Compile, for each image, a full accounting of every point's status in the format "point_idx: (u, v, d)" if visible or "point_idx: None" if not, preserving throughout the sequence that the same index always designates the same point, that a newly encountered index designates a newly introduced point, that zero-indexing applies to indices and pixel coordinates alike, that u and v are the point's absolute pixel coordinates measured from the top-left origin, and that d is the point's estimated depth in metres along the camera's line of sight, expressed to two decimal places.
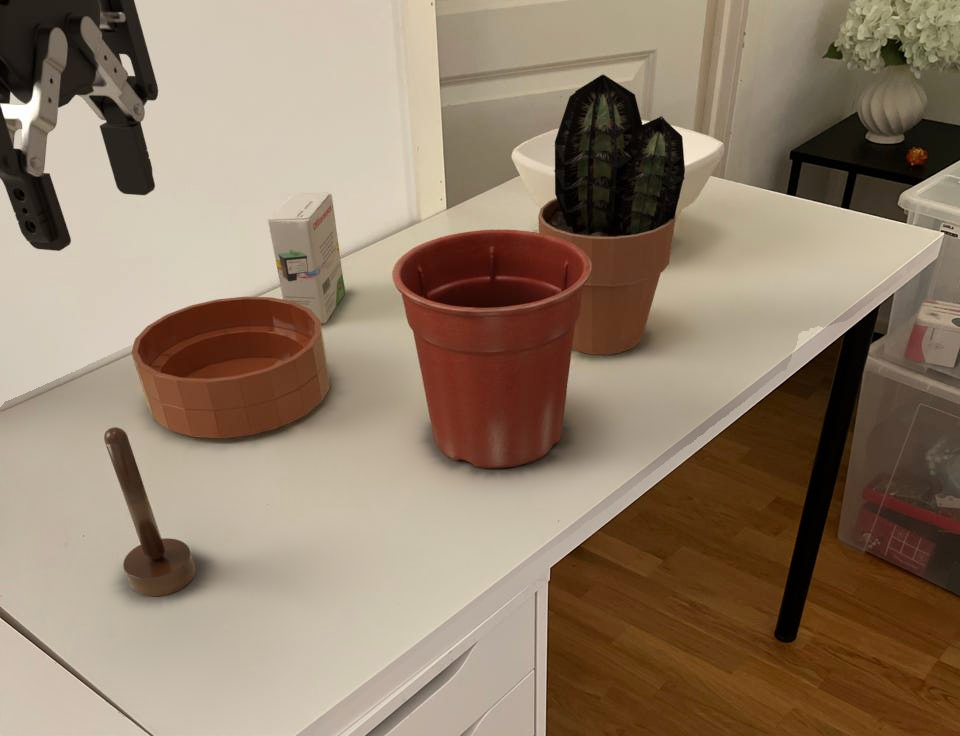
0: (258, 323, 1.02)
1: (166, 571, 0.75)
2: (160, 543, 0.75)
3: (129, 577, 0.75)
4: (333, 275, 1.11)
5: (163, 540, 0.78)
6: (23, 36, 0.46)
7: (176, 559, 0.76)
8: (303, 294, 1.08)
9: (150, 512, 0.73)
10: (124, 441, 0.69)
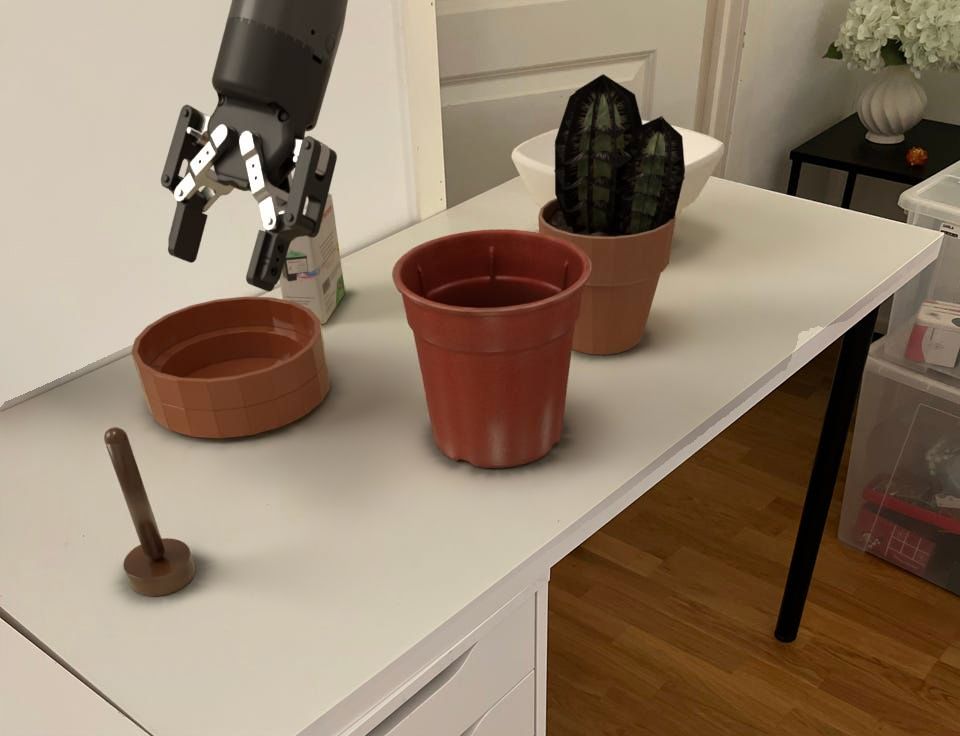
0: (258, 323, 1.02)
1: (166, 571, 0.75)
2: (160, 543, 0.75)
3: (129, 577, 0.75)
4: (333, 275, 1.11)
5: (163, 540, 0.78)
6: None
7: (176, 559, 0.76)
8: (303, 294, 1.08)
9: (150, 512, 0.73)
10: (124, 441, 0.69)
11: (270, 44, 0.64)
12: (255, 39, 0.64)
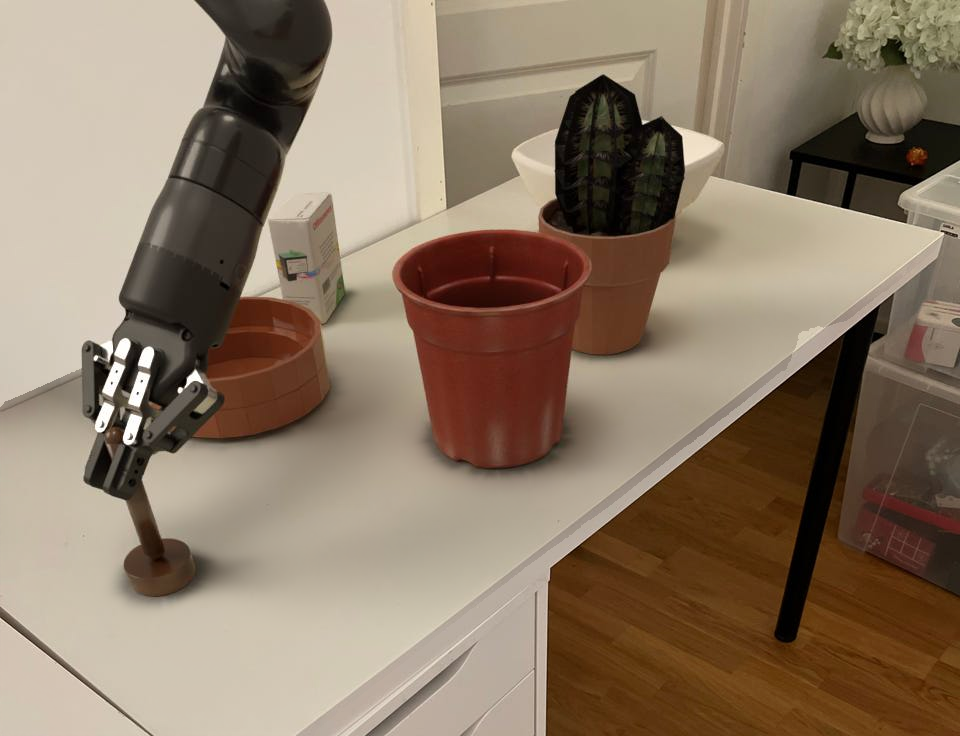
0: (258, 323, 1.02)
1: (166, 571, 0.75)
2: (160, 543, 0.75)
3: (129, 577, 0.75)
4: (333, 275, 1.11)
5: (163, 540, 0.78)
6: None
7: (176, 559, 0.76)
8: (303, 294, 1.08)
9: (150, 512, 0.73)
10: None
11: (177, 270, 0.65)
12: (163, 265, 0.65)
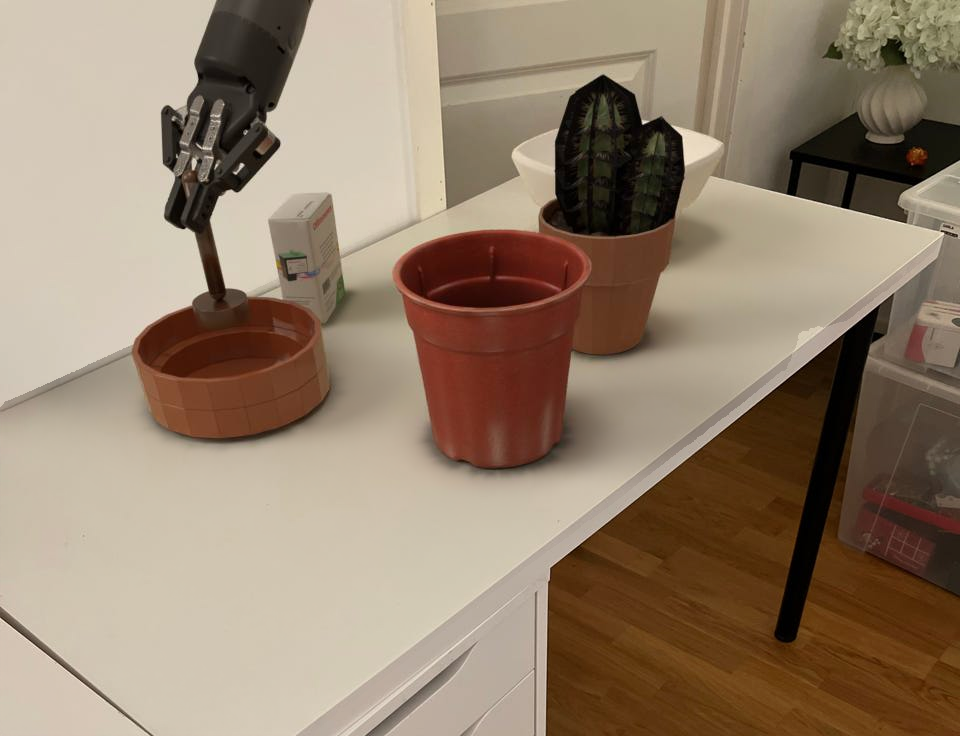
0: (258, 323, 1.02)
1: (228, 307, 0.91)
2: (223, 284, 0.91)
3: (197, 312, 0.91)
4: (333, 275, 1.11)
5: None
6: None
7: (235, 300, 0.92)
8: (303, 294, 1.08)
9: (216, 252, 0.89)
10: (198, 181, 0.84)
11: (244, 31, 0.81)
12: (232, 27, 0.81)
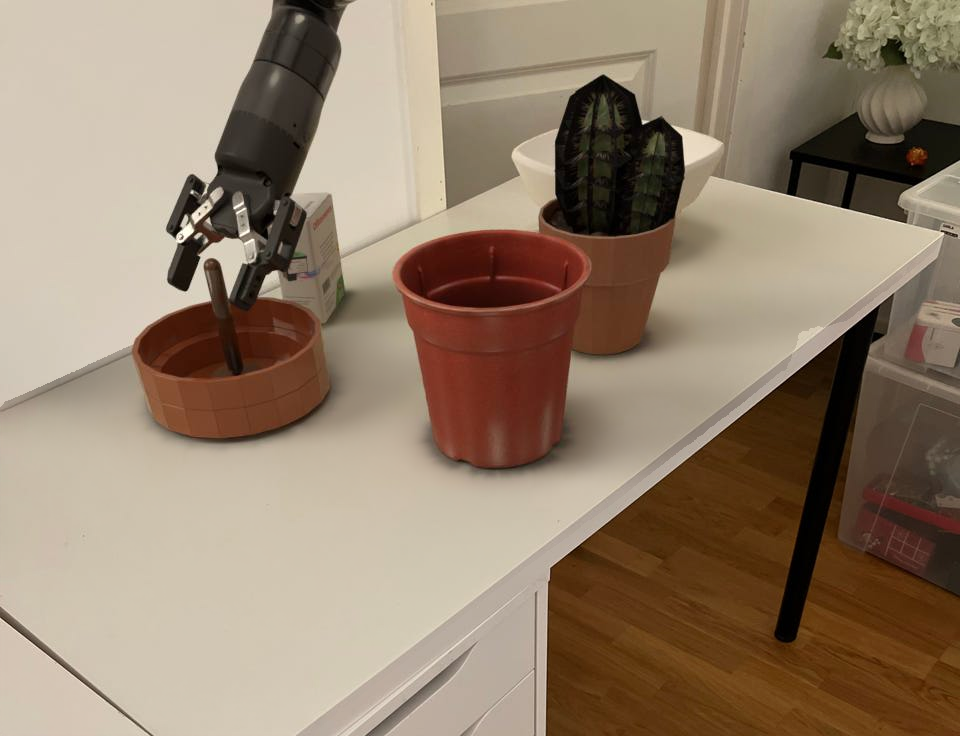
0: (258, 323, 1.02)
1: None
2: (241, 360, 0.96)
3: None
4: (333, 275, 1.11)
5: None
6: None
7: None
8: (303, 294, 1.08)
9: (234, 332, 0.94)
10: (218, 269, 0.90)
11: (262, 130, 0.86)
12: (251, 126, 0.86)
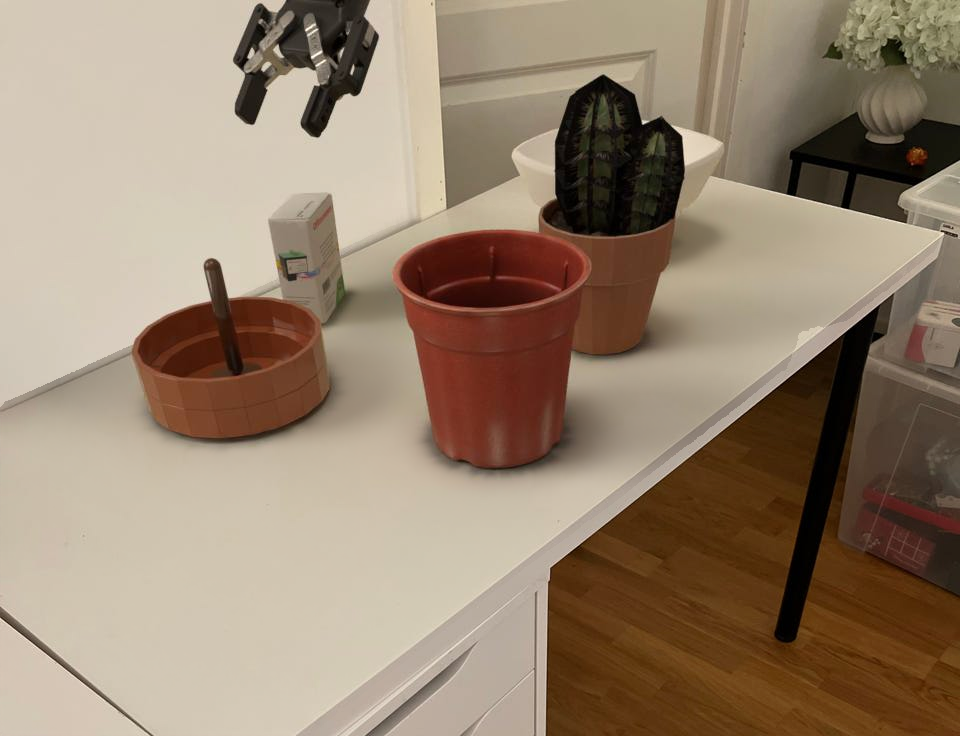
0: (258, 323, 1.02)
1: None
2: (241, 360, 0.96)
3: None
4: (333, 275, 1.11)
5: None
6: None
7: None
8: (303, 294, 1.08)
9: (234, 332, 0.94)
10: (218, 269, 0.90)
11: None
12: None
